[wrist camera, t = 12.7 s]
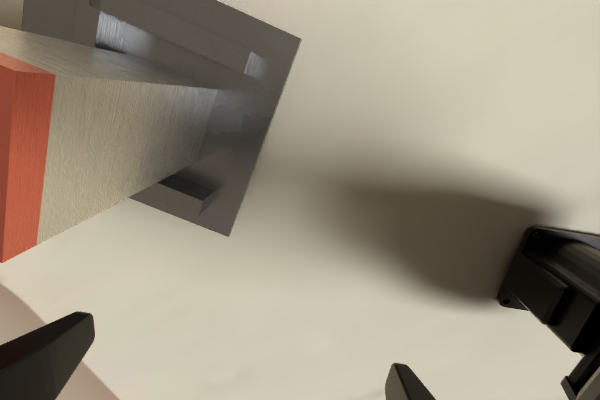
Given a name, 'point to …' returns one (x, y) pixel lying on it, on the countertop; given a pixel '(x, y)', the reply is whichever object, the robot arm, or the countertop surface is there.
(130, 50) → the plate
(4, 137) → the block
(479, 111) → the countertop surface
